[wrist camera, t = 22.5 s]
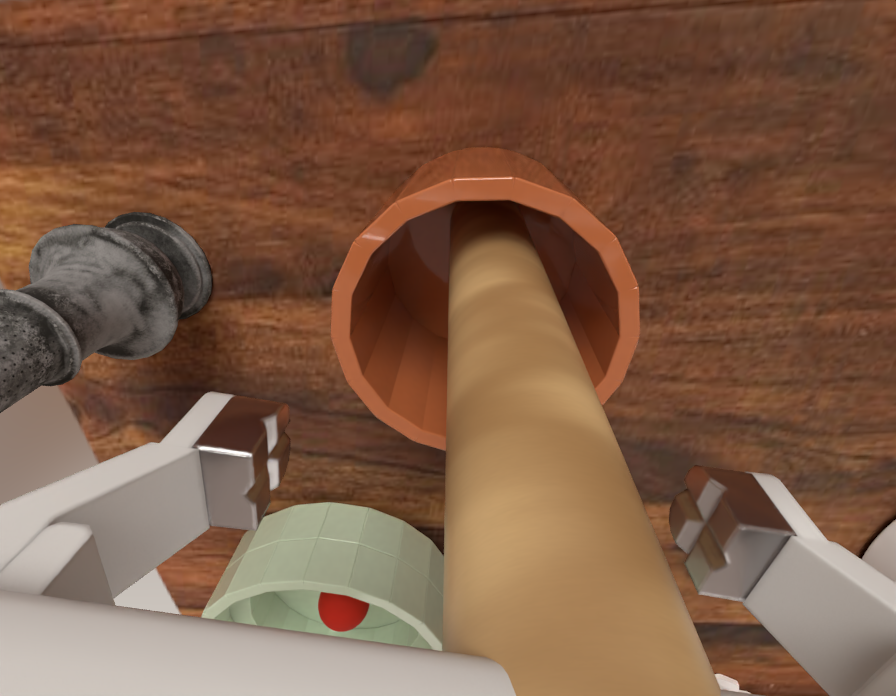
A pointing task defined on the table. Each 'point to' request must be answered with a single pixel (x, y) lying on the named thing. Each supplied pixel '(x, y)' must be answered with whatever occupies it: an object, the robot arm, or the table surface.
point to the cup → (728, 683)
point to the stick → (545, 494)
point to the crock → (427, 285)
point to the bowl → (335, 574)
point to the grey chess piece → (98, 299)
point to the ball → (341, 611)
